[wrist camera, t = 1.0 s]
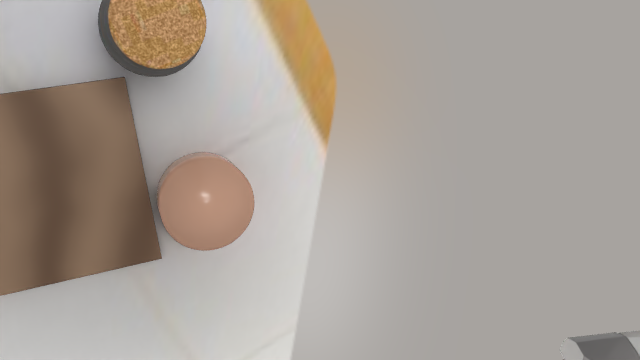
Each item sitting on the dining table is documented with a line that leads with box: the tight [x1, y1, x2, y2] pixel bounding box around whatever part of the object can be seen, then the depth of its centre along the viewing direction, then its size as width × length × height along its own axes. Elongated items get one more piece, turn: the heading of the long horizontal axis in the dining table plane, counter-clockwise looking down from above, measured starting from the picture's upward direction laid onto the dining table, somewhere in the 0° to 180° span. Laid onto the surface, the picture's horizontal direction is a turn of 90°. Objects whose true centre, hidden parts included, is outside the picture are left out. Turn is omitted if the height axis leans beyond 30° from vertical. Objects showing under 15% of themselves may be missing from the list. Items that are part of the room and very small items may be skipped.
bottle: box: [98, 0, 206, 77], centre depth 35 cm, size 6×6×15 cm
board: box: [0, 77, 162, 296], centre depth 42 cm, size 14×14×1 cm
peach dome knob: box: [157, 152, 254, 250], centre depth 45 cm, size 7×7×4 cm
